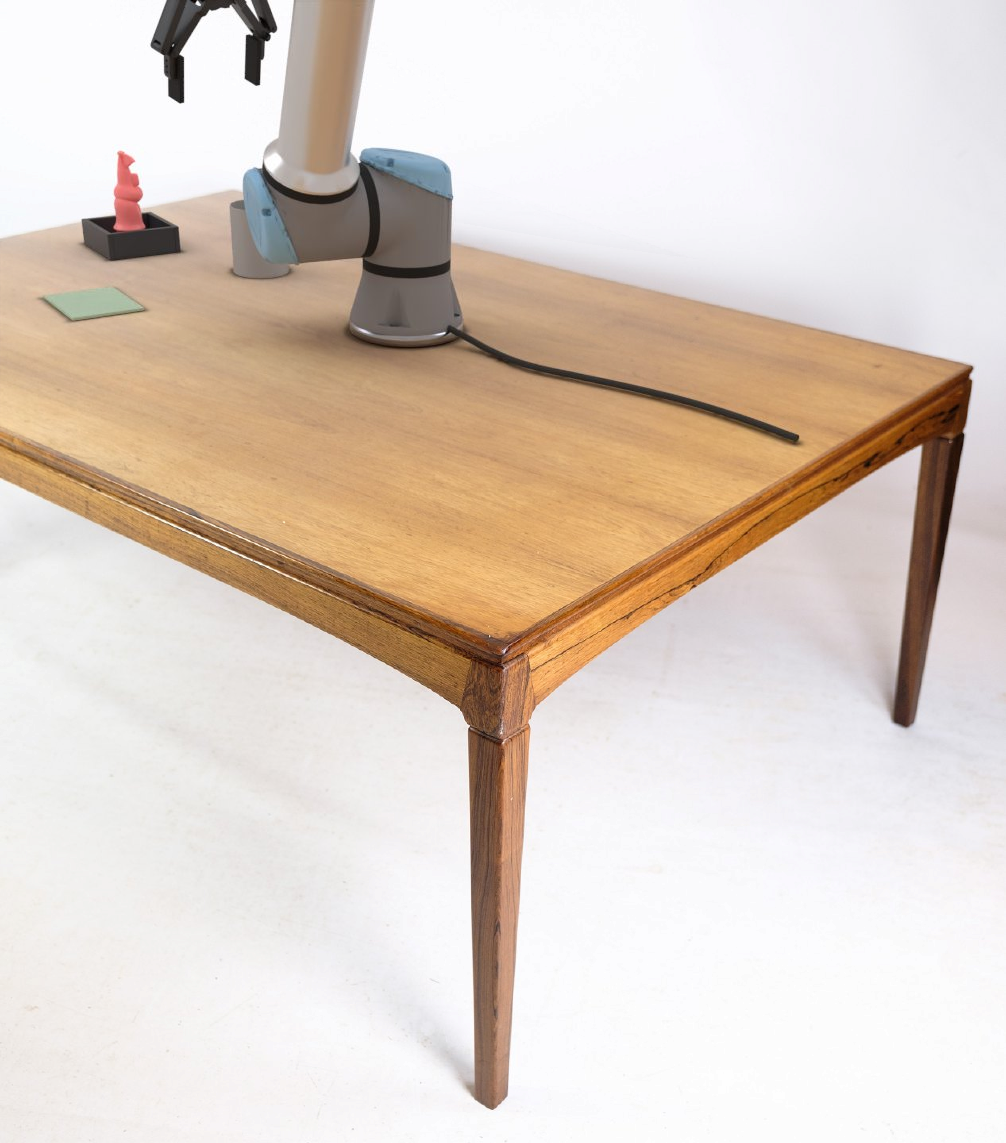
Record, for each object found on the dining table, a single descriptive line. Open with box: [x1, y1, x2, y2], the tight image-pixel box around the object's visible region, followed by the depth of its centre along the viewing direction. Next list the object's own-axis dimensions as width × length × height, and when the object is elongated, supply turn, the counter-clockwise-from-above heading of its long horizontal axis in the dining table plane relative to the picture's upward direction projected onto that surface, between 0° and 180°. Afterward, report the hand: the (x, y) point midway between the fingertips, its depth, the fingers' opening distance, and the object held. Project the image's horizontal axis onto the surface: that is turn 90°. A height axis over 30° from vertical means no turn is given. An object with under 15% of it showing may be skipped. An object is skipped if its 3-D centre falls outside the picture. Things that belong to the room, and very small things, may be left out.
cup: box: [229, 199, 290, 279], centre depth 196 cm, size 8×8×10 cm
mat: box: [42, 286, 145, 322], centre depth 180 cm, size 12×10×1 cm
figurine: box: [113, 150, 146, 232], centre depth 204 cm, size 5×5×15 cm
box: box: [81, 211, 181, 261], centre depth 206 cm, size 12×12×4 cm
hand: (215, 91), depth 187 cm, fingers open, 13 cm apart
